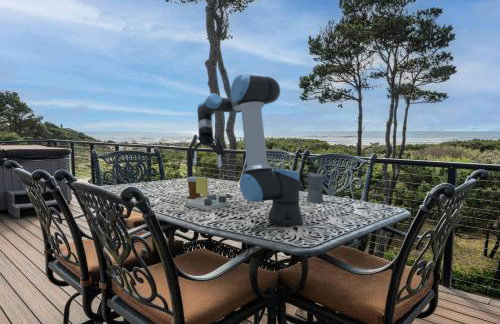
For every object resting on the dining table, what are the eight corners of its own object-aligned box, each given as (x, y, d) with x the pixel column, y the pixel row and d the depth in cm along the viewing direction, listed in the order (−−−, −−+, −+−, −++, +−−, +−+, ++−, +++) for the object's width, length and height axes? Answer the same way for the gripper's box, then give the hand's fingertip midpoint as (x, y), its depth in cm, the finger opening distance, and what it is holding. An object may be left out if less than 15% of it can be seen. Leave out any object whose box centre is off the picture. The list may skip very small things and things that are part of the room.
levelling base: (229, 205, 191) (229, 196, 190) (208, 210, 179) (208, 200, 179) (206, 201, 202) (205, 192, 202) (185, 205, 191) (185, 196, 191)
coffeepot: (326, 200, 207) (327, 169, 205) (327, 203, 197) (327, 171, 196) (299, 199, 209) (300, 168, 208) (298, 202, 200) (299, 170, 199)
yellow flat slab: (218, 200, 192) (218, 178, 191) (211, 202, 189) (211, 179, 187) (200, 197, 202) (200, 176, 201) (193, 198, 198) (193, 177, 197)
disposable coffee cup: (206, 196, 216) (206, 177, 215) (195, 199, 208) (195, 178, 207) (194, 195, 221) (194, 176, 220) (183, 197, 213) (183, 177, 212)
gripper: (224, 136, 199) (227, 171, 190) (180, 129, 188) (181, 166, 179) (229, 129, 194) (232, 165, 185) (185, 122, 182) (186, 159, 173)
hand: (207, 165), depth 182 cm, fingers open, 13 cm apart
